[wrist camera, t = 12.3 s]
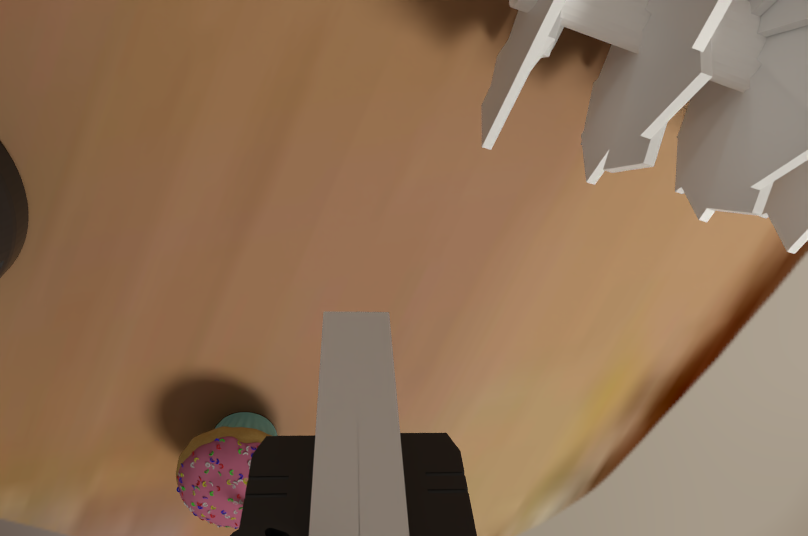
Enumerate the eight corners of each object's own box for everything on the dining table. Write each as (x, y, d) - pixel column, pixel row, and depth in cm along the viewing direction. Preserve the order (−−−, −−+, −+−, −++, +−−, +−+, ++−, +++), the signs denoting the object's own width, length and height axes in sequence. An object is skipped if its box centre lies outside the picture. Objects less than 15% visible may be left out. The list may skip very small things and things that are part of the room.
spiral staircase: (521, -128, 42) (875, 15, 46) (436, 159, 42) (799, 276, 46) (696, -406, 24) (1256, -130, 28) (546, 99, 24) (1130, 302, 28)
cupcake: (302, 395, 53) (291, 519, 43) (298, 478, 57) (287, 610, 47) (186, 390, 52) (145, 515, 42) (190, 475, 56) (154, 609, 46)
